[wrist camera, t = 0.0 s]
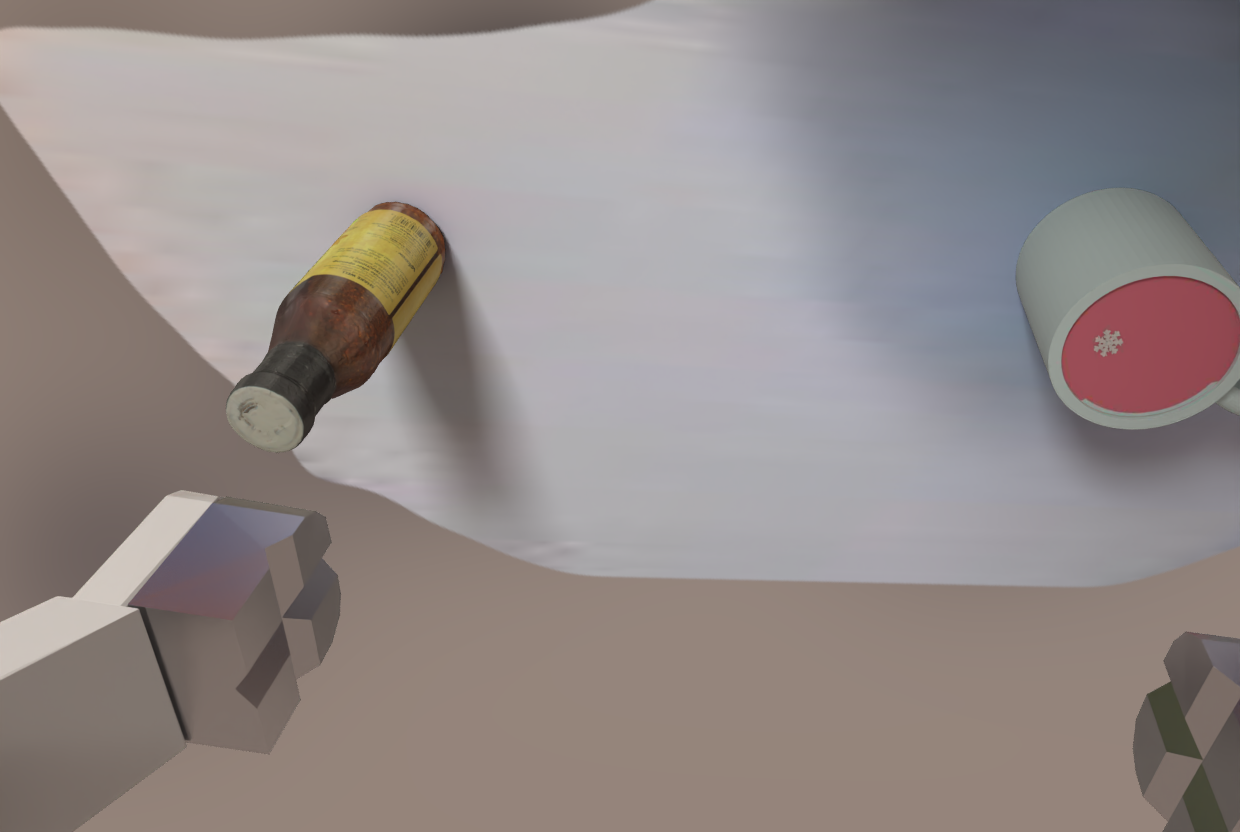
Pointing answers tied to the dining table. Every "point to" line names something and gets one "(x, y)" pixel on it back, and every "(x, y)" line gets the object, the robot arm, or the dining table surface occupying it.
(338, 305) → the sauce bottle
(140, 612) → the robot arm
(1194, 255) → the mug
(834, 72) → the dining table surface
